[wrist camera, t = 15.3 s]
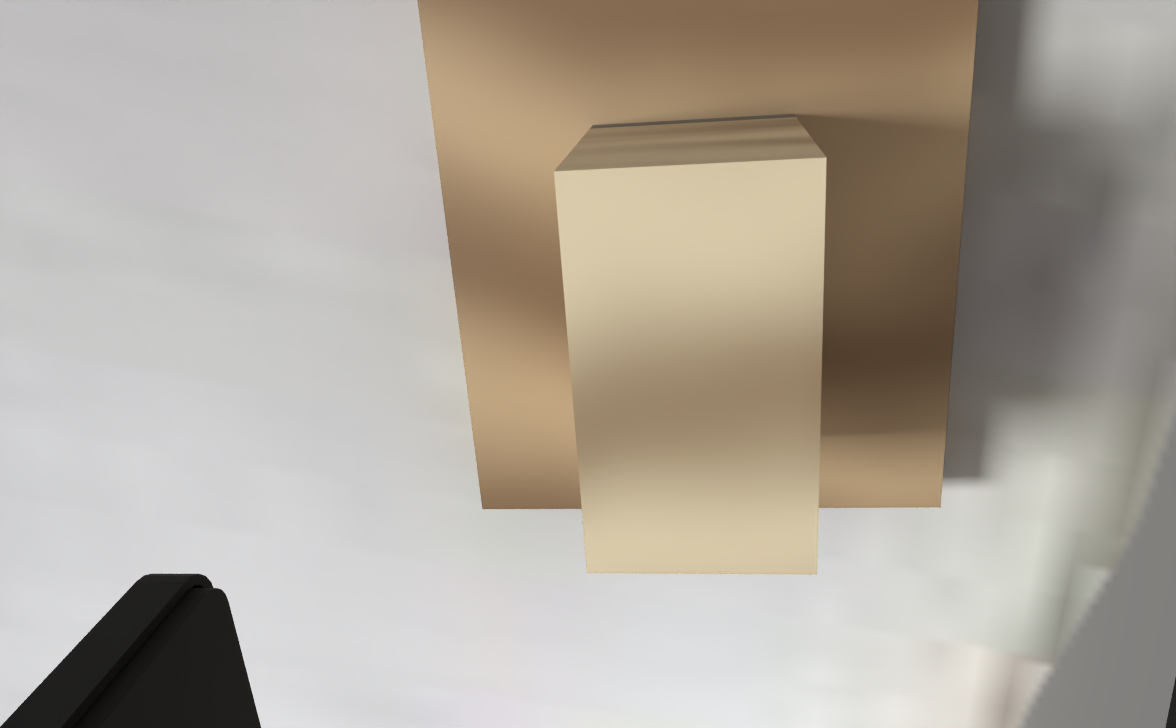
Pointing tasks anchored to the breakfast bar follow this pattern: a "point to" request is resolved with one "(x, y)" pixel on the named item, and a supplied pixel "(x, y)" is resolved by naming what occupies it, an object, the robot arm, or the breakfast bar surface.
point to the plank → (702, 91)
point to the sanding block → (696, 342)
